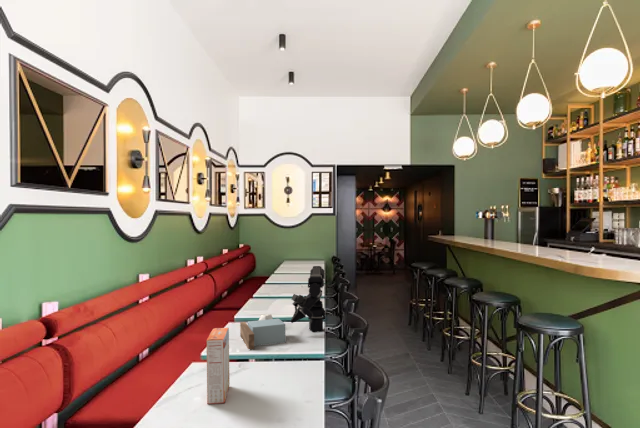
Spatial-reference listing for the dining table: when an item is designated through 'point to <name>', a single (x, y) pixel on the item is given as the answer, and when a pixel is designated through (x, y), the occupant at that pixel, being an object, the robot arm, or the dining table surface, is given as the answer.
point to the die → (265, 317)
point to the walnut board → (247, 335)
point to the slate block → (267, 331)
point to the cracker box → (217, 365)
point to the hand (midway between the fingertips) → (291, 322)
